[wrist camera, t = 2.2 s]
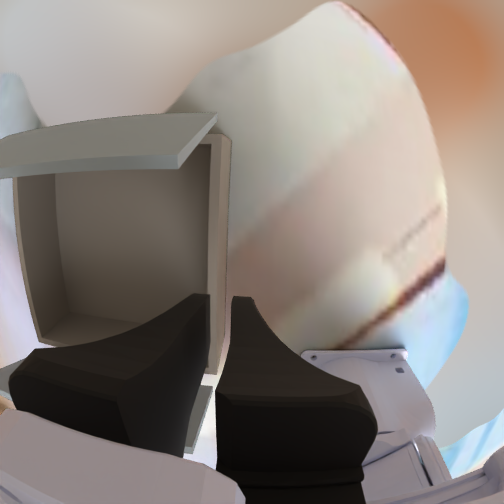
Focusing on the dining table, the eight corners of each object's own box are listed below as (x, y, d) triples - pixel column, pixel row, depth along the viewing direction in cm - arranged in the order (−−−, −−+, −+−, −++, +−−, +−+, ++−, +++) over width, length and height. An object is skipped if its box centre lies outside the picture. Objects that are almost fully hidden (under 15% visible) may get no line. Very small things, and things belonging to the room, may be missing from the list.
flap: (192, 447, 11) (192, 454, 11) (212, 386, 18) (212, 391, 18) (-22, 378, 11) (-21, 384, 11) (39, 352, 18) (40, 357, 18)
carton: (231, 140, 19) (222, 134, 14) (224, 333, 23) (216, 374, 18) (54, 148, 19) (12, 150, 14) (69, 313, 23) (38, 342, 18)
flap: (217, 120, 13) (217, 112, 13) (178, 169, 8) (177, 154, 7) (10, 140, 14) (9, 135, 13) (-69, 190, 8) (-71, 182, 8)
